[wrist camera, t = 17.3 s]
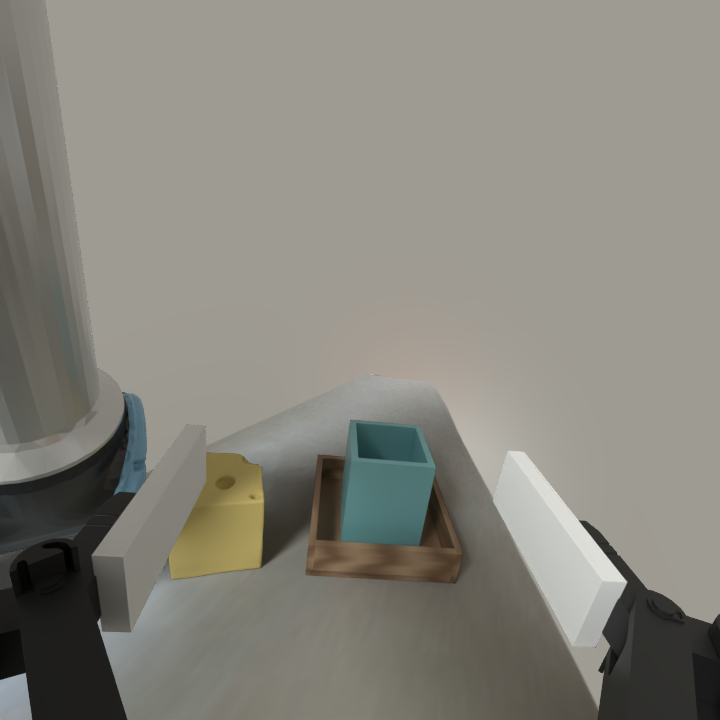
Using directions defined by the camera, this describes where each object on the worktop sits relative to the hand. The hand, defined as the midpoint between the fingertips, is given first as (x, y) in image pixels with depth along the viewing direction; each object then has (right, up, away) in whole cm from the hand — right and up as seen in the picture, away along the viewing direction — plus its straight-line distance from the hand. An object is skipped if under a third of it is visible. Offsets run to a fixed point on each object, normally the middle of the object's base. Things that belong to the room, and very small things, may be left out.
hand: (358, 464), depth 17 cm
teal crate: (+2, -18, +37) cm, 41 cm away
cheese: (-17, -18, +32) cm, 40 cm away
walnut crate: (+2, -18, +38) cm, 42 cm away
